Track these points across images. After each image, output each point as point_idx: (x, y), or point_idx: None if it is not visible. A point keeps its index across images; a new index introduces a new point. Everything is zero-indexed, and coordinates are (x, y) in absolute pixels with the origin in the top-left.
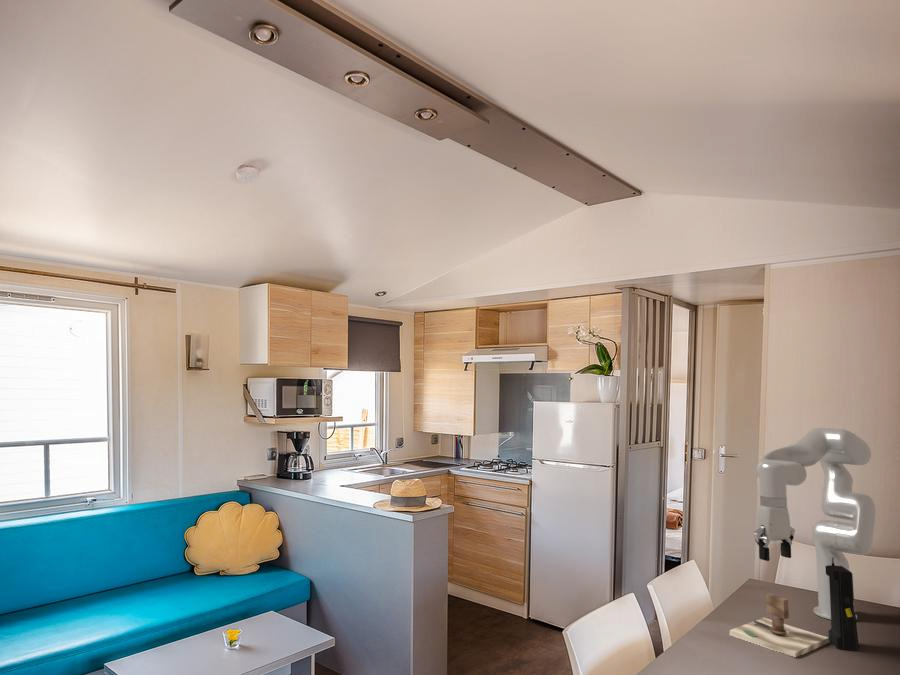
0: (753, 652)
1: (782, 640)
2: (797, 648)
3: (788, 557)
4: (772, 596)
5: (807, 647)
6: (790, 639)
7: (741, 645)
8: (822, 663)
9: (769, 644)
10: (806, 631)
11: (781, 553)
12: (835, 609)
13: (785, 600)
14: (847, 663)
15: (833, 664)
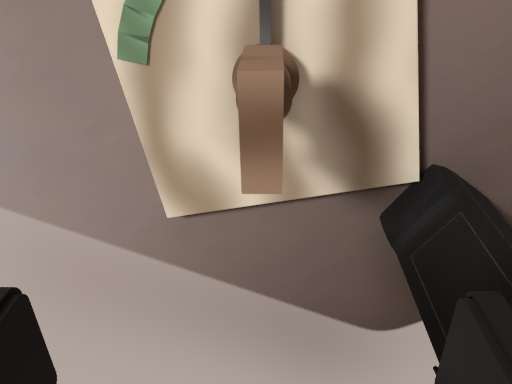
0: (61, 123)
1: (217, 131)
2: (207, 199)
3: (437, 380)
4: (241, 118)
5: (252, 204)
6: None
7: (58, 56)
8: (221, 258)
9: (139, 133)
10: (409, 104)
11: (471, 328)
12: (457, 287)
13: (259, 192)
14: (292, 283)
15: (246, 273)
